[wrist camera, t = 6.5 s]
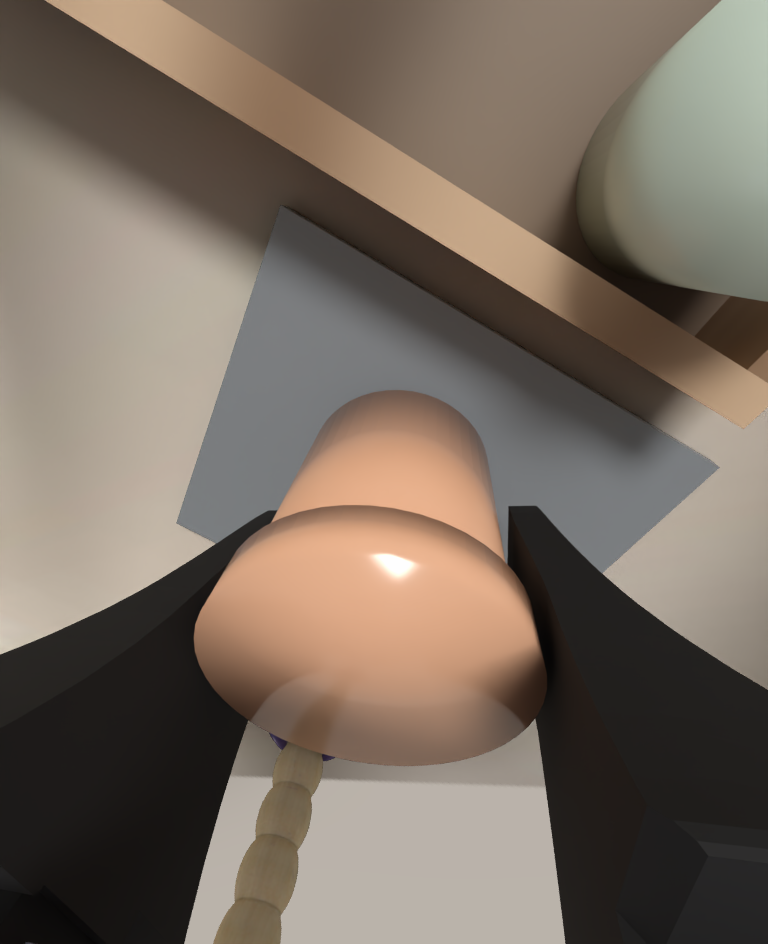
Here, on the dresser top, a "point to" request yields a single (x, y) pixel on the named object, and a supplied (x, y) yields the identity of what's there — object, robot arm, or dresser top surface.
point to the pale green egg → (687, 163)
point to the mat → (428, 372)
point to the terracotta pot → (380, 598)
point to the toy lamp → (274, 850)
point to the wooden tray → (465, 141)
